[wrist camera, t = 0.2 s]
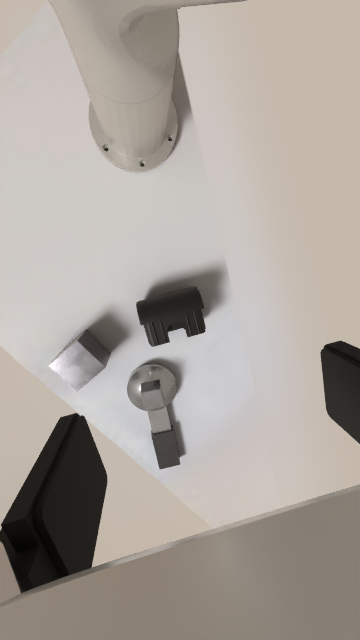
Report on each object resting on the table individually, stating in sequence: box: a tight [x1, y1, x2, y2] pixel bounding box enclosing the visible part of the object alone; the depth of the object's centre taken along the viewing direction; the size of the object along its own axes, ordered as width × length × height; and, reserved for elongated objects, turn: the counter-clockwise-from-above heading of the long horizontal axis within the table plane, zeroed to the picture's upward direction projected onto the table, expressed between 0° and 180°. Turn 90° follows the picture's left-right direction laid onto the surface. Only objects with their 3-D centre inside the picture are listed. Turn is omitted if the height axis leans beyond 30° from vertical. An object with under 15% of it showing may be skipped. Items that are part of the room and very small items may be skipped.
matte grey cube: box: [49, 330, 111, 391], centre depth 43 cm, size 6×6×6 cm
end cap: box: [136, 287, 206, 347], centre depth 43 cm, size 10×7×7 cm
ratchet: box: [127, 363, 180, 469], centre depth 48 cm, size 22×9×5 cm, turn 10°
